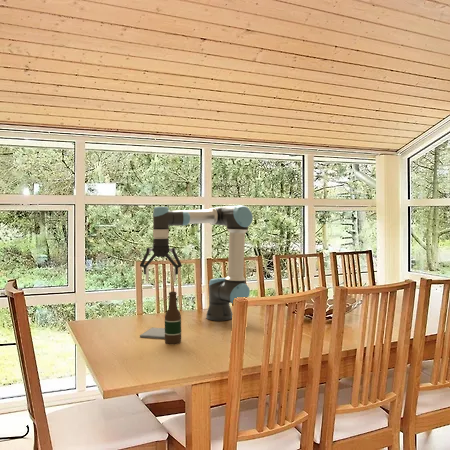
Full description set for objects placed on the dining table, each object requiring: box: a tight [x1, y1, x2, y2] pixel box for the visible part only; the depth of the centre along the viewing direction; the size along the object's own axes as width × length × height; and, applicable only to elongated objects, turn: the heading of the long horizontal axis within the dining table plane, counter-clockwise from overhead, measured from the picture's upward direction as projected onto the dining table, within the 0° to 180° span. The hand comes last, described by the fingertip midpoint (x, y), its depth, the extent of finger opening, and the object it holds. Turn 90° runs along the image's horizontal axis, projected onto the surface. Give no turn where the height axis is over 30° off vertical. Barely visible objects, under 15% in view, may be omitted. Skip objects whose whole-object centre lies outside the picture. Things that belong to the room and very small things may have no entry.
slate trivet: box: [139, 327, 165, 340], centre depth 240 cm, size 16×16×1 cm
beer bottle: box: [164, 290, 182, 346], centre depth 224 cm, size 8×8×24 cm
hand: (160, 281), depth 234 cm, fingers open, 13 cm apart
